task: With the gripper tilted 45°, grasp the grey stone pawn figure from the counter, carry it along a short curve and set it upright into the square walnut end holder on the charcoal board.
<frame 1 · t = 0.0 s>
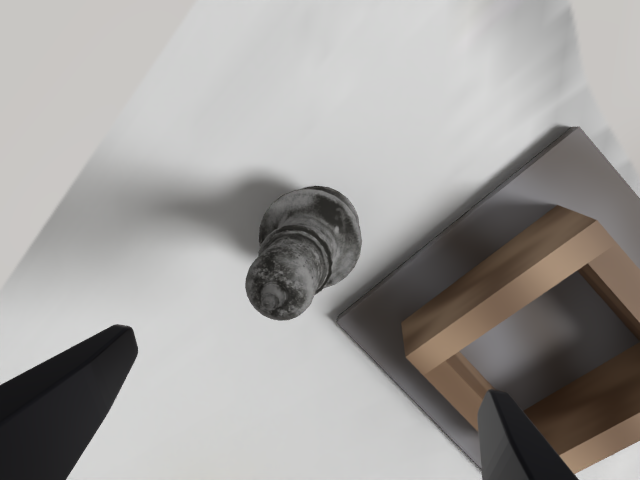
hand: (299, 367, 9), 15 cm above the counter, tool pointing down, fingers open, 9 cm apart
grey stone pawn figure: (319, 225, 25), on the counter
end holder: (528, 326, 24), on the counter
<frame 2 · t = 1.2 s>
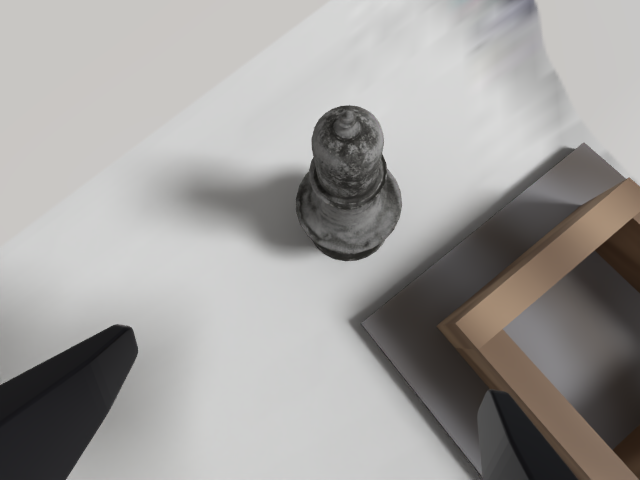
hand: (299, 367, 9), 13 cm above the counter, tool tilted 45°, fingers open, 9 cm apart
grey stone pawn figure: (348, 222, 24), on the counter
end holder: (579, 344, 21), on the counter
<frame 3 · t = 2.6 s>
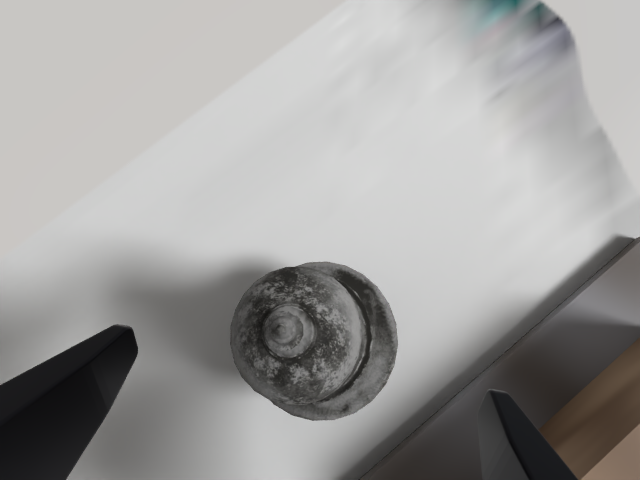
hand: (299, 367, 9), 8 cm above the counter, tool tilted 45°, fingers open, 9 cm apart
grey stone pawn figure: (325, 337, 18), on the counter
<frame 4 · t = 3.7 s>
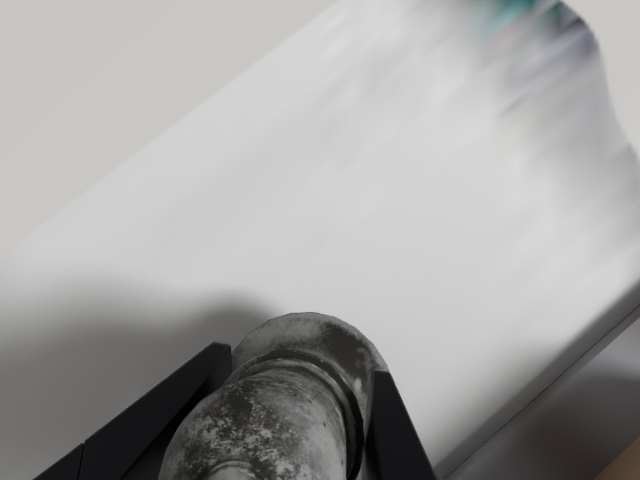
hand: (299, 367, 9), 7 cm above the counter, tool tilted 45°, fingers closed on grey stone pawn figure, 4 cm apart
grey stone pawn figure: (315, 389, 16), on the counter, touching gripper
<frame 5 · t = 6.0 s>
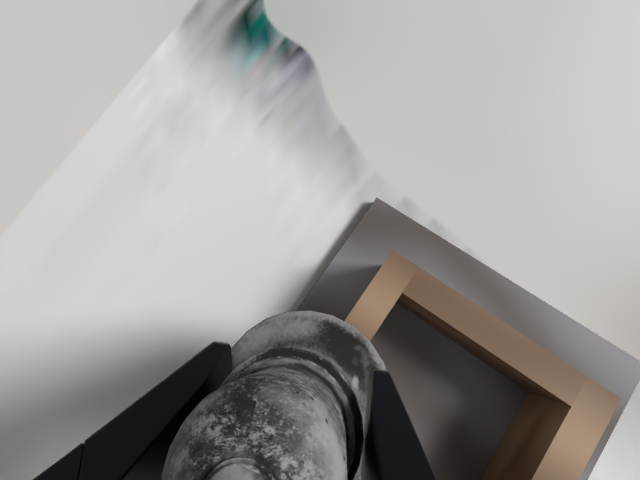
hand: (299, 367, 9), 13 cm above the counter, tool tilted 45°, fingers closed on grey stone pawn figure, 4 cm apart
grey stone pawn figure: (311, 387, 16), point 6 cm above the counter, touching gripper
end holder: (414, 407, 21), on the counter
when the fingers open (8 cm above the counter, at t = 7.9 s): grey stone pawn figure stays where it is, resting on end holder.
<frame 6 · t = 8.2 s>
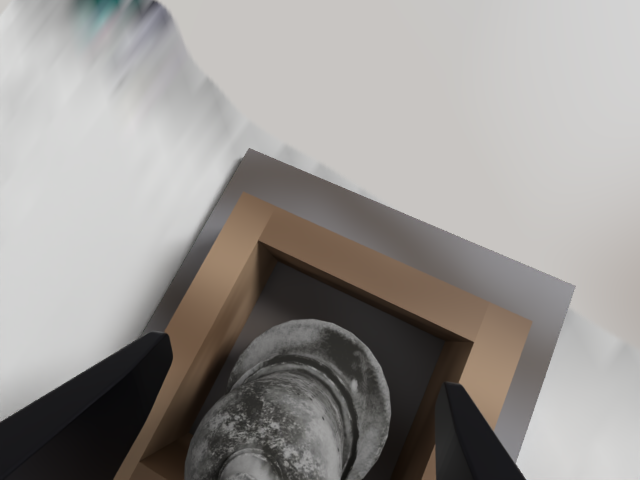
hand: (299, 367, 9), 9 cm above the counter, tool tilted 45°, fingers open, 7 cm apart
grey stone pawn figure: (315, 390, 17), point 1 cm above the counter, touching end holder
end holder: (318, 384, 17), on the counter
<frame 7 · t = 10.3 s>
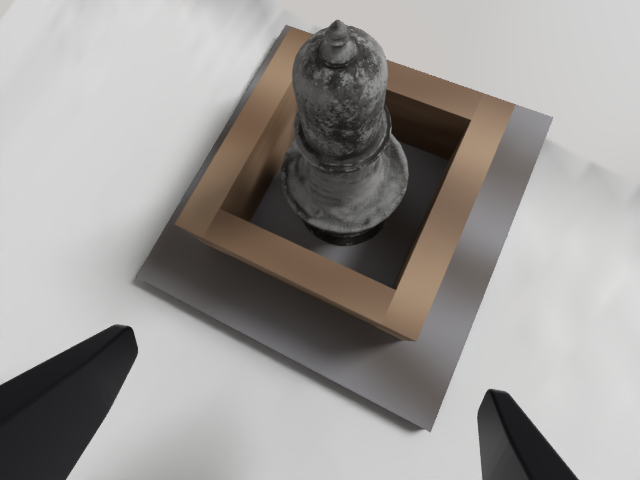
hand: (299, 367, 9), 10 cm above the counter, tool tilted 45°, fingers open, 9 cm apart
grey stone pawn figure: (344, 200, 21), point 1 cm above the counter, touching end holder
end holder: (346, 201, 21), on the counter
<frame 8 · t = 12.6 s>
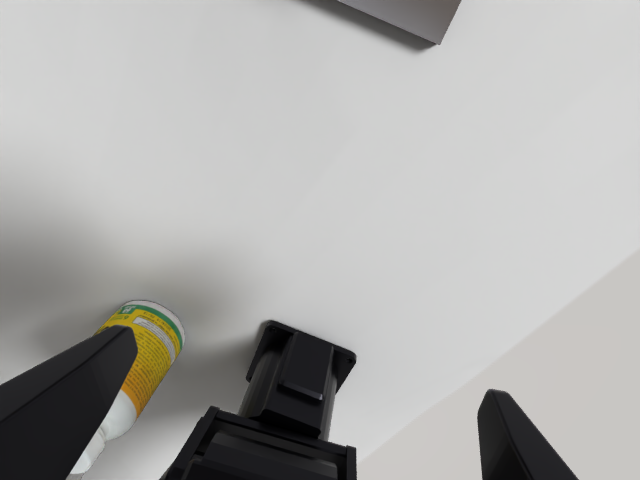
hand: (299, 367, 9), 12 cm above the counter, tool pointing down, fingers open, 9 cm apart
supplement bottle: (155, 324, 28), on the counter
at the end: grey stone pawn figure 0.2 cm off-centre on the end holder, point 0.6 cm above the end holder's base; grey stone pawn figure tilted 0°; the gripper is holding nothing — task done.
